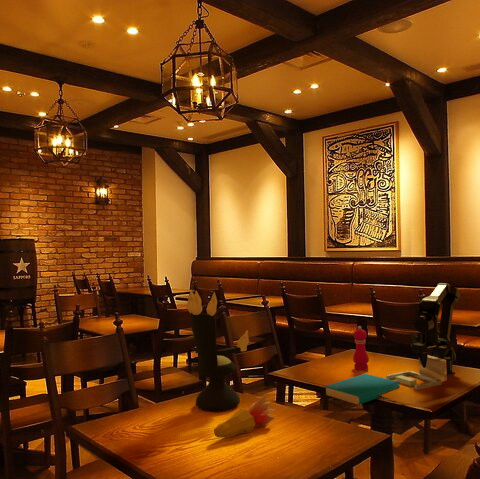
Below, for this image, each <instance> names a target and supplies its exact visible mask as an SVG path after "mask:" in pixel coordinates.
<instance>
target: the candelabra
mask: <svg viewBox="0 0 480 479" xmlns="http://www.w3.org/2000/svg"><path fill="white" fill-rule="evenodd" d="M217 306H218V299H217V296H216V292H215V291H213V294H212V296H211V298H210V301H209V302H208V303H207V306H206V313H202V311H203V306H202V298H201V296H200V294H199V293H198V291H197V290H195V293H194V292H193V291H192V289H190V290H189V297H188V300H187V305H186V309H187V310H188V312H189V322H190V326H191V331H192V335H193V339H194V344H195V353H196V354H197V360H198V367H197V370H198V373H199V375H201V376H202V377H205V378H209V380H208V384H206V386H205V387H204V388H203V390H201V391H200V392H199V393H198V395H197V397H196V399H195V406H197V408H198V409H199V410H201V411H206V412H211V413H218V412H225V411H226V412H227V411H229V410H233V409H234V408H235V409H236V408H237V407H238V405H239V404H240V402H241V399H240V396H239V394H238V393H237V392H236V391H235V389H233V388H232V387H231V386H230V385H228V383H227V382H226V377H229V376H230V375H232V374H233V373H234V372H235V369H236V365H235V363H234V362H233V361H232V360H231V359H230V358H228V357H226V356H228V355H234V354H239V353H240V352H246V351H247V350H248V348H247V347H248V344H249V343H250V338H249V330H248V329H247V330H246V331H245V332H244V333H243V334H242V335H241V336H240V338H239V339H238V342H237V344H236V346H232V347H227V348H222V349H217V318H216V316H215V314H216V313H217Z"/></svg>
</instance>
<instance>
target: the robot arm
mask: <svg viewBox="0 0 480 479" xmlns="http://www.w3.org/2000/svg"><path fill="white" fill-rule="evenodd" d="M460 297H461V293H460V289H458V287H455V286H453V285H450V284H449V283H448V282H447V283H445V282H444V283H443V282H439V283H437V284H436V287H435V288H434V290H433V292H431V294H430V295H429V296H426V297H424V298H422V299H421V301H420V302H419V306H418V311H417V316H418V319H416V321H415V323H414V328H415V330H416V331H417V332H418V333H420V334H418V333H412V334H411V333H410V340H411V342H412V343H411V344H410V346H409V347H410V351H412V352H413V353H415V354H416V355H417V357H418V360H419V359H420V361H421V364H422V366H423V368H425V367H426V363H427V357H428V355H429V352H428V350H429V349H430V351H431V356H433V357H437V358H441V359H444V360H446V370H447V375H452V374H456V371H454V370H453V361H456V359H457V358H456V357H457V356H456V352H455V350H454V346H453V342H452V341H451V339H450V336H451V329H452V321H453V313H454V308H455V306H456V305H458V303H459V299H460ZM439 316H440V320H439V318H438V317H439Z"/></svg>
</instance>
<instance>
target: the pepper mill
mask: <svg viewBox="0 0 480 479" xmlns="http://www.w3.org/2000/svg"><path fill="white" fill-rule="evenodd" d="M362 328H363V327H362V326H361V325H359V326H357V328H356V329H355V330H354V331H353V335H352V336H353V338H354V344H355V351H354V353H353V356H352V361H353V362H354V365H353V366H354V367H353V368H354V370H356V371H367V370H368V369H369V365H368V363H369V361H370V358H369V355H368V352H367V350H366V346H365V345H366V343H367V342H366V341H367V340H366V338H367V334H368V333H367V332H366V330H364V329H362Z"/></svg>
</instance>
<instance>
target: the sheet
mask: <svg viewBox="0 0 480 479" xmlns="http://www.w3.org/2000/svg"><path fill="white" fill-rule="evenodd" d="M418 373H419V374H422V375H425V376H429V377H432V378H435V379H438V380H441V382H442V383H443V382H446V381H448V376H447V370H446V360H444V359H441V358H437V357H433V356H432V355H429V354H428V357H427V363H426V367H425V368H423V366H422V364H421V361H420V359H419V358H418Z"/></svg>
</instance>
